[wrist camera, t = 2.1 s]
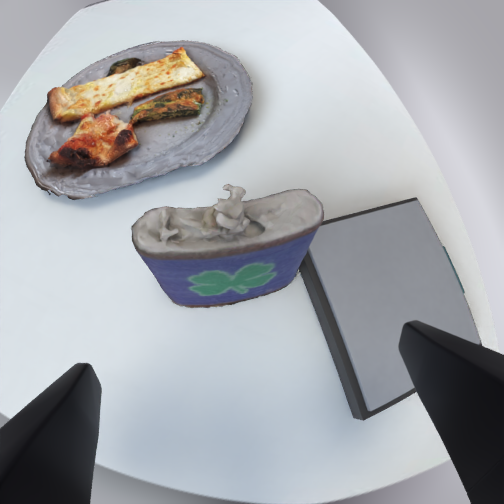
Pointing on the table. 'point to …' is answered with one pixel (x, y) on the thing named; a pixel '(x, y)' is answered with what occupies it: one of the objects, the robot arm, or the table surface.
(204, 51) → the food plate
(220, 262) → the flask
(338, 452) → the table surface
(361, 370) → the scale
